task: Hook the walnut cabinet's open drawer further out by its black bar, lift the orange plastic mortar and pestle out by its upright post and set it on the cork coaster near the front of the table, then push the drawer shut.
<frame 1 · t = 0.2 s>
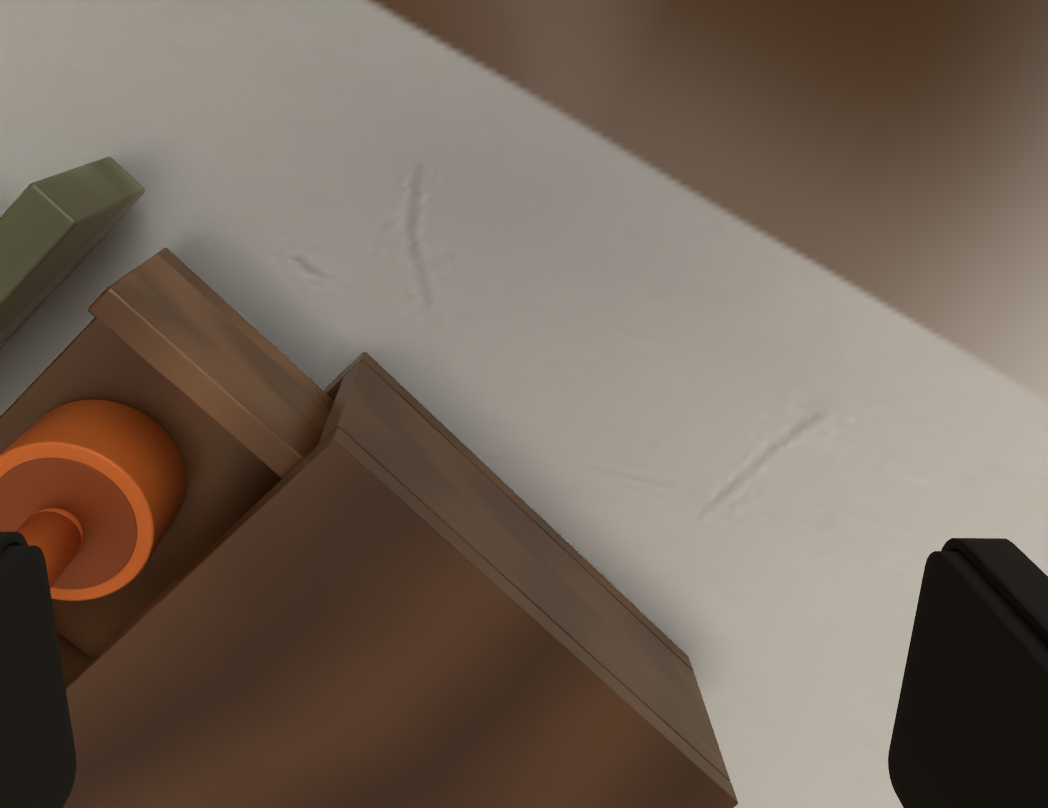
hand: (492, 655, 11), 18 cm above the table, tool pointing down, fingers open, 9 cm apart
mortar and pestle: (105, 473, 27), point 2 cm above the table, touching drawer
cabinet: (377, 651, 32), on the table
drawer: (54, 467, 26), point 3 cm above the table, slide at 7.0 cm, touching mortar and pestle
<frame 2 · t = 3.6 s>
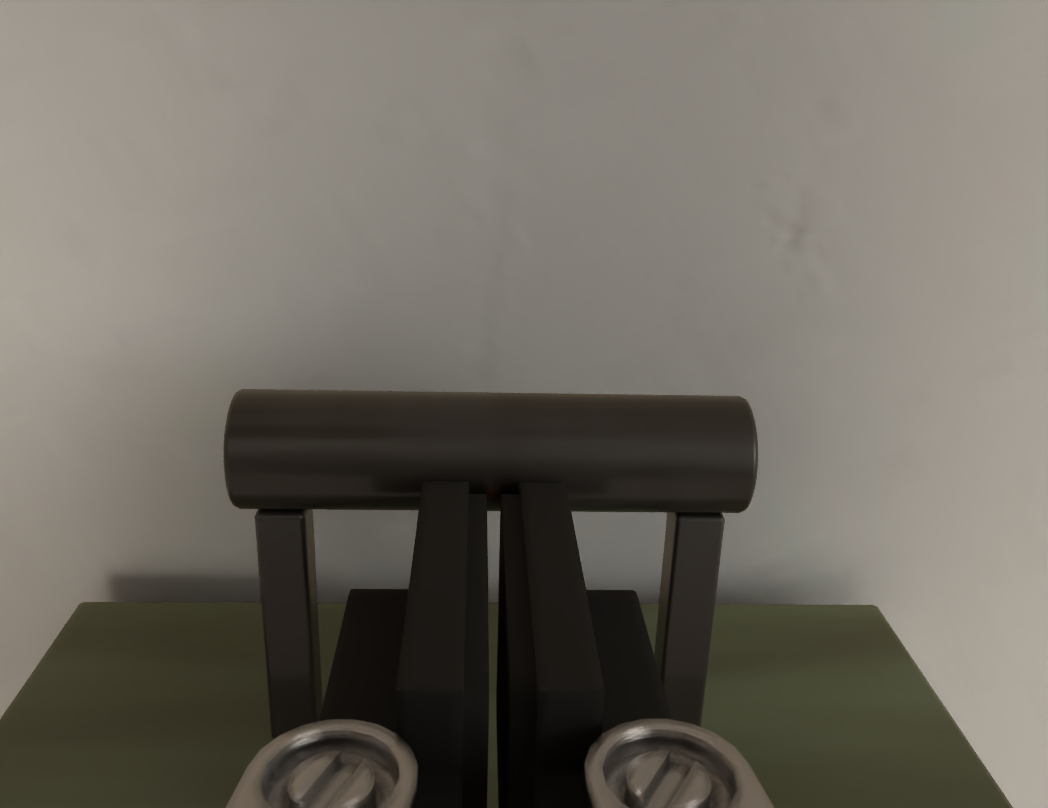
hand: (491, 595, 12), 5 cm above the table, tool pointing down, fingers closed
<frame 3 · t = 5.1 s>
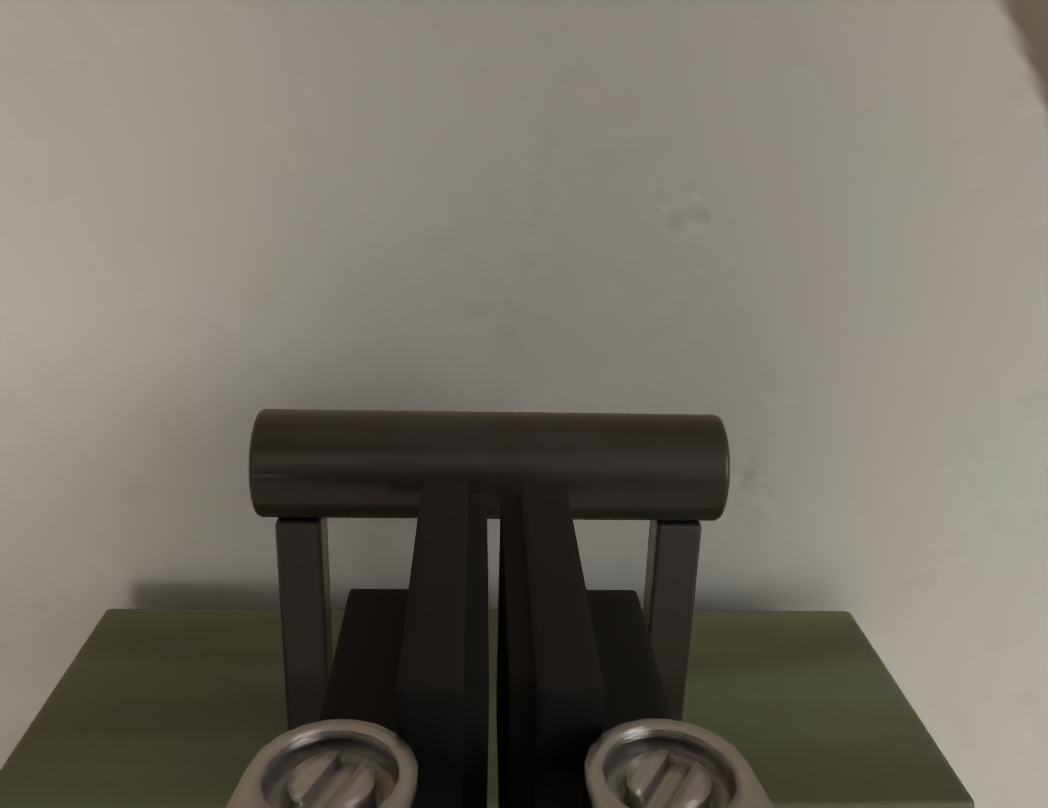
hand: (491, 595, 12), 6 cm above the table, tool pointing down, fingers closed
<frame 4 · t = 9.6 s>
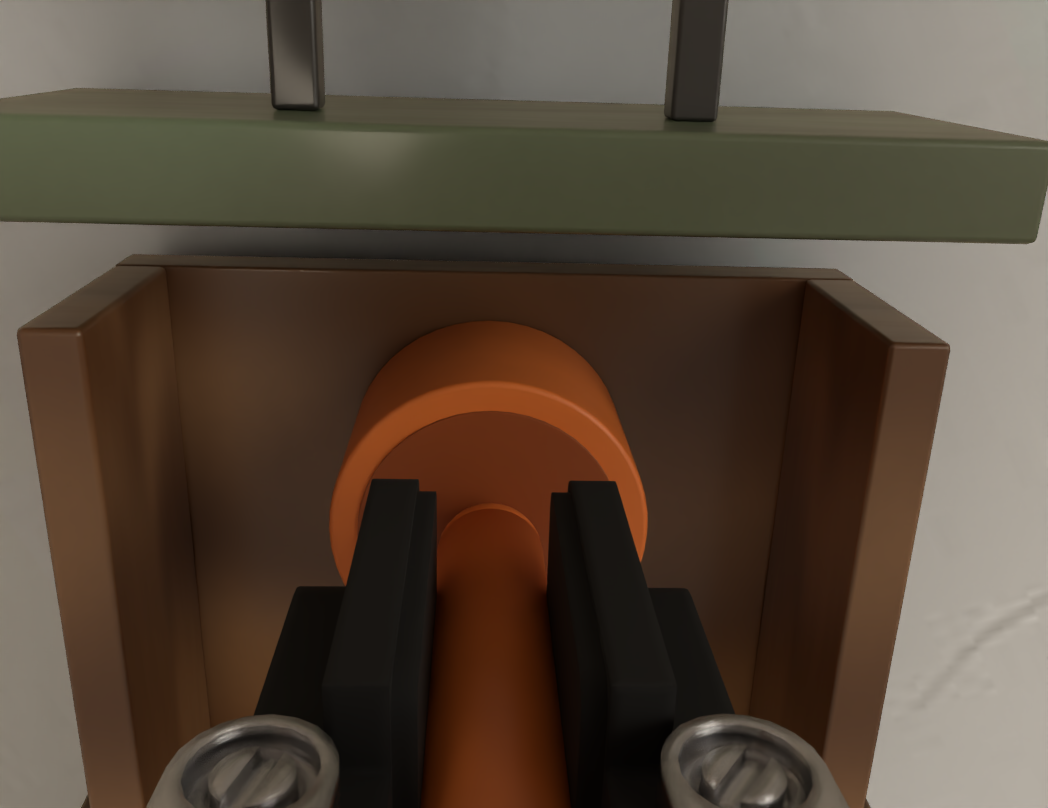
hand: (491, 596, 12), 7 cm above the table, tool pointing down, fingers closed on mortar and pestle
mortar and pestle: (487, 447, 16), point 2 cm above the table, touching drawer, gripper
drawer: (489, 416, 15), point 3 cm above the table, slide at 10.7 cm, touching mortar and pestle
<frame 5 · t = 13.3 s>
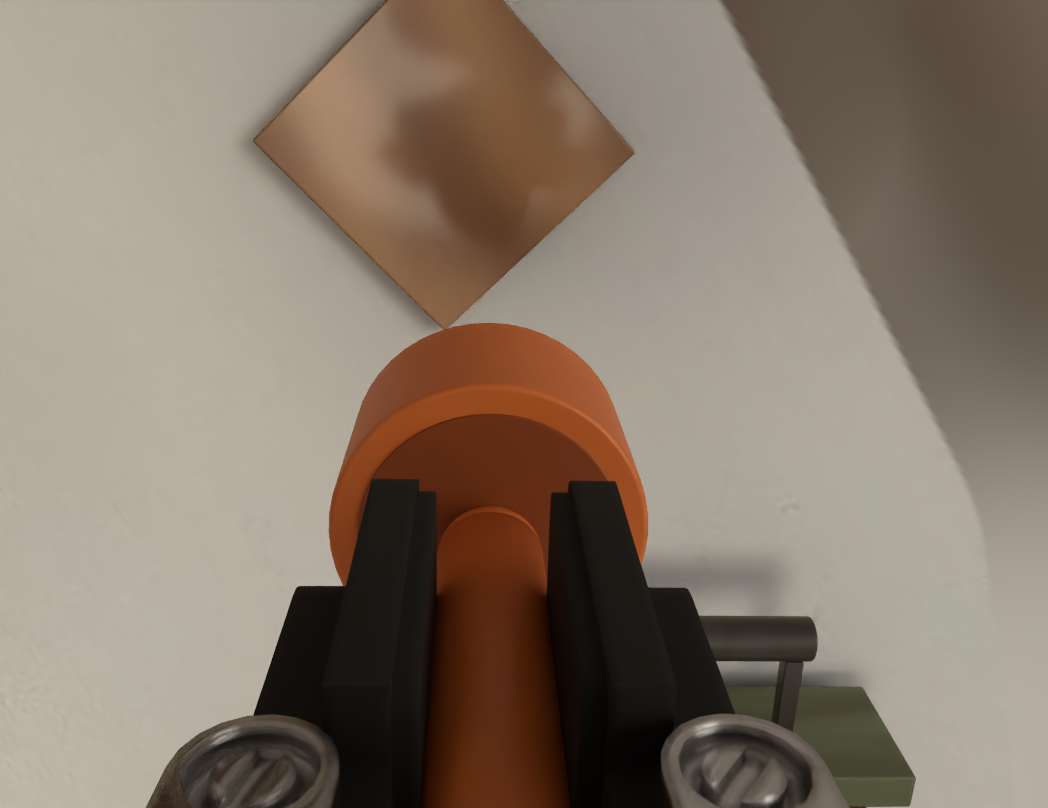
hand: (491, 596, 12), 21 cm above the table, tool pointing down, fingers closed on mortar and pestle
mortar and pestle: (487, 449, 16), point 16 cm above the table, touching gripper
coaster: (446, 145, 30), on the table
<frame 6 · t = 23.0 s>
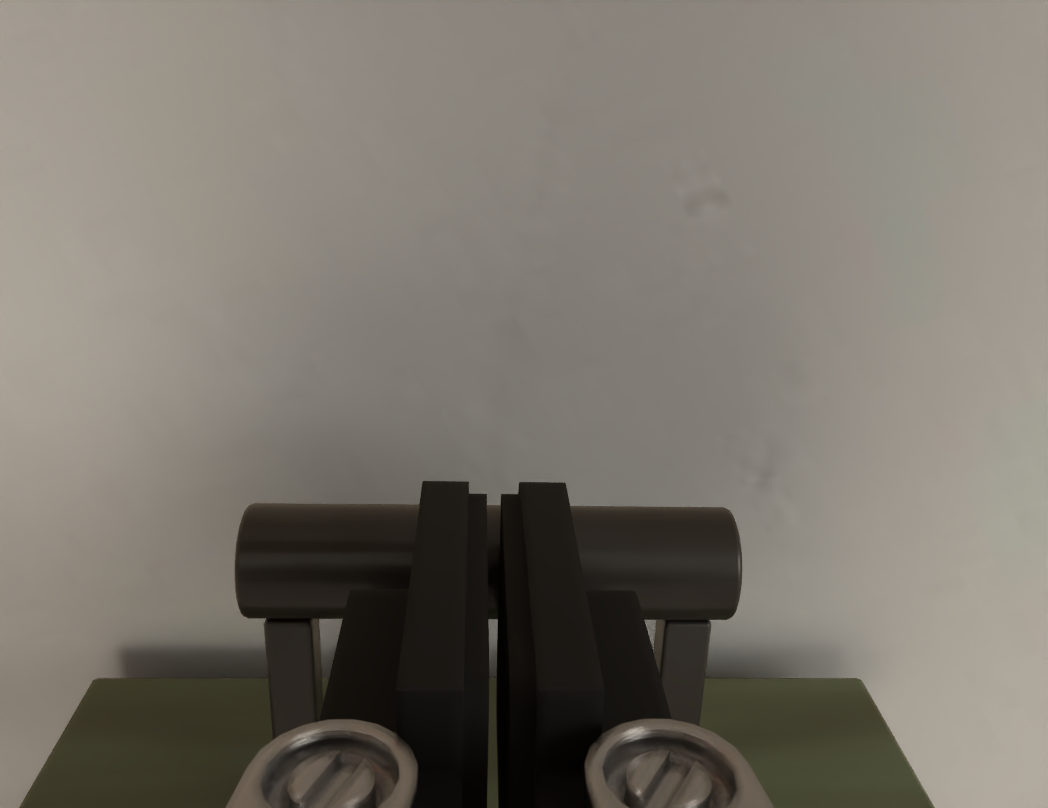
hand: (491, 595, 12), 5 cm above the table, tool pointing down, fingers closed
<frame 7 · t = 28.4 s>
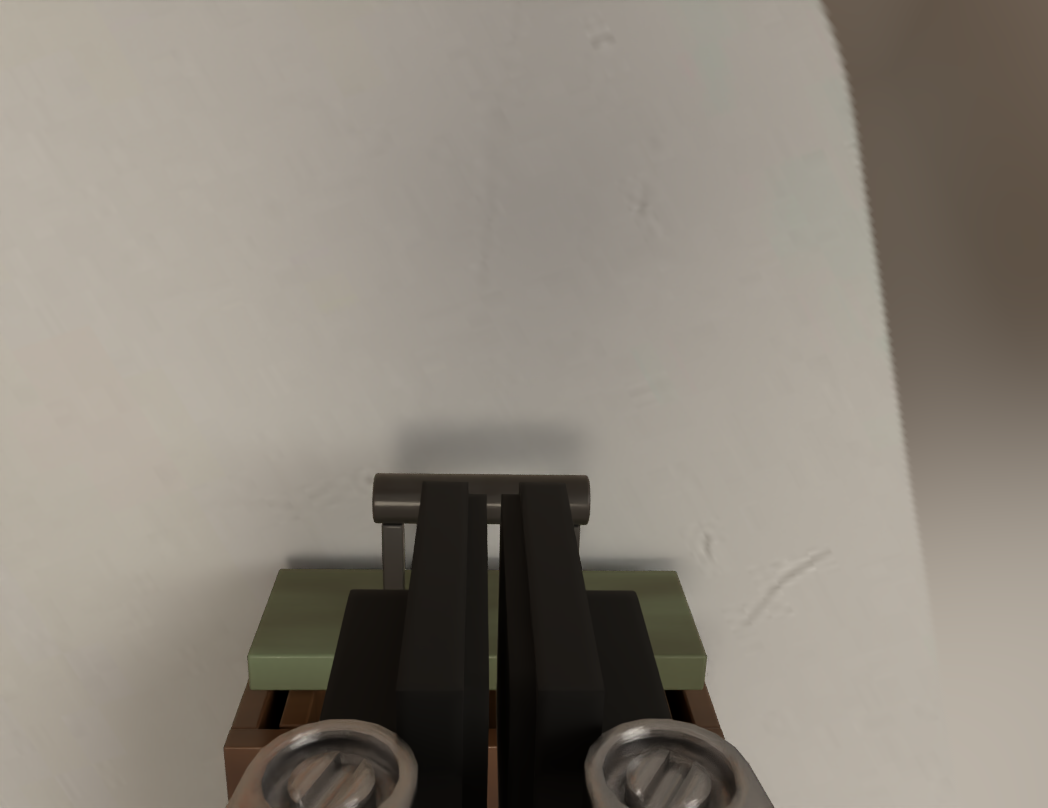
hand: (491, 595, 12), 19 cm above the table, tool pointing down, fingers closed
cabinet: (476, 787, 36), on the table
drawer: (477, 728, 32), point 3 cm above the table, slide at 1.2 cm
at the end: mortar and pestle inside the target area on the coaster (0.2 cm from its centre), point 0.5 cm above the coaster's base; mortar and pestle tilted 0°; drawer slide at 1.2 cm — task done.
